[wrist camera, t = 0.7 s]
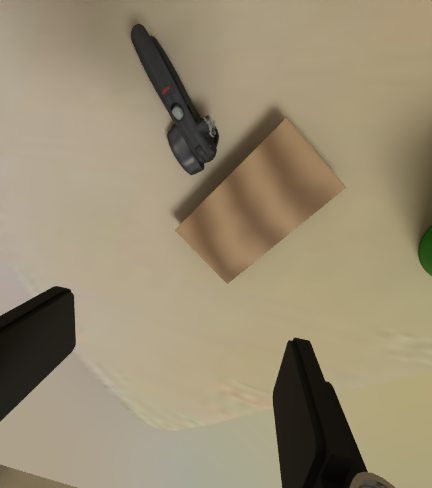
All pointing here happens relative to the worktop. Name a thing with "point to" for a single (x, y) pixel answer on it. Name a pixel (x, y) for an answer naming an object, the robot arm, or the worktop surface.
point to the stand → (260, 202)
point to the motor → (426, 251)
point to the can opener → (177, 106)
